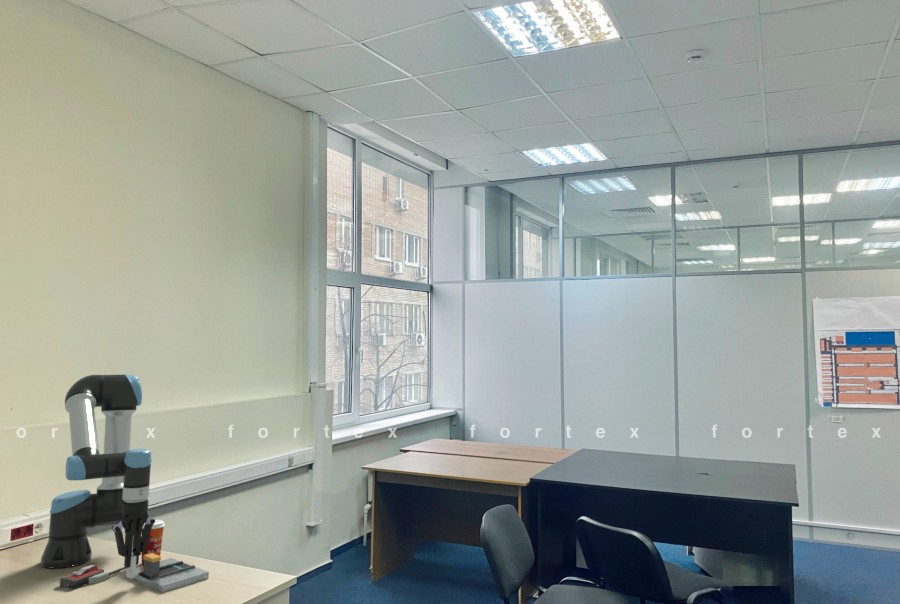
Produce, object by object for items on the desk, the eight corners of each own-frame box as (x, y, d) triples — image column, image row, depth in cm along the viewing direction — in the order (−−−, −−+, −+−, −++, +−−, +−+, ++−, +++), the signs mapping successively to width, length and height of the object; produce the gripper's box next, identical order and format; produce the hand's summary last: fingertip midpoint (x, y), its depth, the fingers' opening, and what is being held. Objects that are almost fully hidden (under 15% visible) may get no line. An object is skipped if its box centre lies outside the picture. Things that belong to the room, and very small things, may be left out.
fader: (142, 574, 199) (143, 555, 200) (150, 572, 202) (151, 553, 202) (151, 578, 196) (152, 558, 197) (159, 575, 199) (160, 556, 199)
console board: (125, 576, 203) (125, 568, 203) (171, 563, 216) (171, 556, 216) (161, 592, 190) (162, 583, 191) (208, 578, 203) (208, 569, 204)
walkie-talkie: (74, 593, 190) (128, 572, 208) (75, 578, 190) (129, 558, 209) (54, 589, 193) (109, 568, 211) (55, 574, 193) (109, 555, 212)
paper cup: (152, 568, 212) (155, 525, 213) (133, 565, 213) (135, 524, 214) (167, 560, 219) (170, 520, 221) (148, 558, 221) (151, 518, 222)
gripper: (120, 505, 188) (115, 585, 186) (161, 498, 199) (157, 574, 197) (108, 501, 193) (103, 580, 191) (149, 494, 203) (144, 568, 201)
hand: (130, 577), depth 194 cm, fingers closed
